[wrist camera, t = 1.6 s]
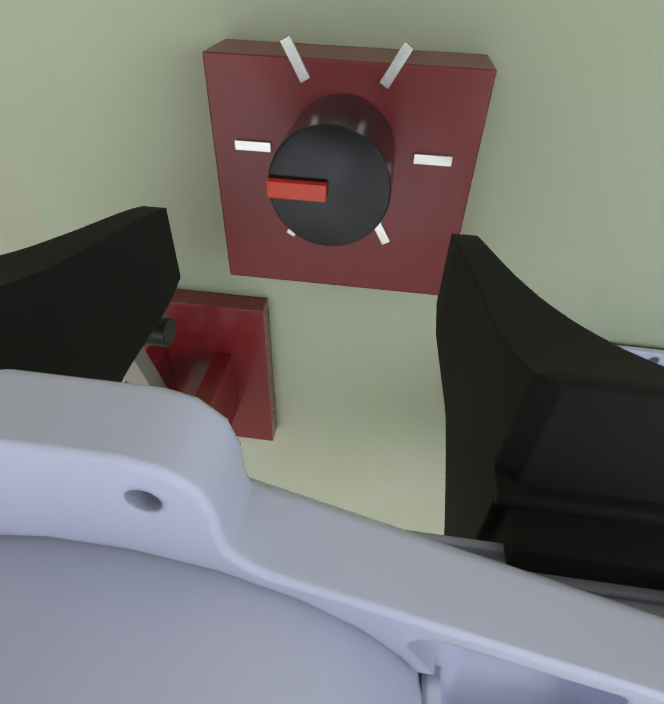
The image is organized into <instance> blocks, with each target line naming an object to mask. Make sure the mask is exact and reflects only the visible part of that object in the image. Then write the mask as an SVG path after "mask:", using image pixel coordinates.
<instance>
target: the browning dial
mask: <svg viewBox="0 0 664 704" xmlns="http://www.w3.org/2000/svg"><path fill="white" fill-rule="evenodd" d="M394 160H395V142H394V137H393V134H392V131H391V128H390V126H389V124H388V122H387V120H386V119H385V117H384V116H383V115H382V113H381V112H380V111H379V110H378V109H377V108H376V107H374V106H373V105H372V104H371V103H369V102H367V101H366V100H364V99H362V98H359V97H356V96H353V95H347V94H334V95H328V96H325V97H322V98H320V99H318V100H316V101H314V102H313V103H311V104H310V105H308V106H307V107H306V108H305V109H304V110H303V111H302V112H301V114H300V115H299V116H298V118H297V120H296V121H295V123H294V124H293V126H292V127H291V129H290V130H289V132H288V134H287V135H286V137H285V138H284V140H283V141H282V143H281V144H280V146H279V148H278V149H277V151H276V152H275V154H274V156H273V158H272V161H271V164H270V167H269V172H268V179H267V181H266V186H267V197H268V198H270V200H271V202H272V205H273V208H274V210H275V211H276V213H277V215H278V216H279V218H280V219H281V221H282V222H283V223H284V224H285V225H286V226H287V227H288V228H289V229H290V230H291V231H292V232H293V233H295V234H296V235H298V236H299V237H301V238H303V239H305V240H307V241H309V242H312V243H315V244H319V245H324V246H342V245H347V244H351V243H354V242H356V241H358V240H360V239H362V238H364V237H366V236H367V235H369V234H370V233H371V232H372V231H373V230H374V229H375V228H376V227H377V226H378V225H379V224H380V222H381V221H382V219H383V218H384V216H385V214H386V212H387V209H388V206H389V203H390V198H391V190H392V180H393V170H394Z"/></svg>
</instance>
